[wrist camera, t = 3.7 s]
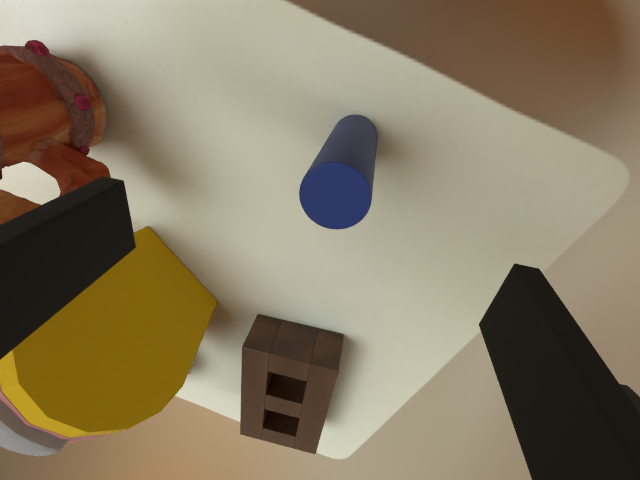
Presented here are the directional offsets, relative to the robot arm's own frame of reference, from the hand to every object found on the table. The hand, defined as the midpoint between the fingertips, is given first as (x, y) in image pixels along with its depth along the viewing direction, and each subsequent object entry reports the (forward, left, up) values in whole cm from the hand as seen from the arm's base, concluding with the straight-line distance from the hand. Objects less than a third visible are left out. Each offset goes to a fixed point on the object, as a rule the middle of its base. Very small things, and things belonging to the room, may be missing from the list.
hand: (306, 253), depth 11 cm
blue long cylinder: (0, 0, -18) cm, 18 cm away
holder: (+2, +31, -18) cm, 36 cm away
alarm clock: (+19, +20, -18) cm, 33 cm away
